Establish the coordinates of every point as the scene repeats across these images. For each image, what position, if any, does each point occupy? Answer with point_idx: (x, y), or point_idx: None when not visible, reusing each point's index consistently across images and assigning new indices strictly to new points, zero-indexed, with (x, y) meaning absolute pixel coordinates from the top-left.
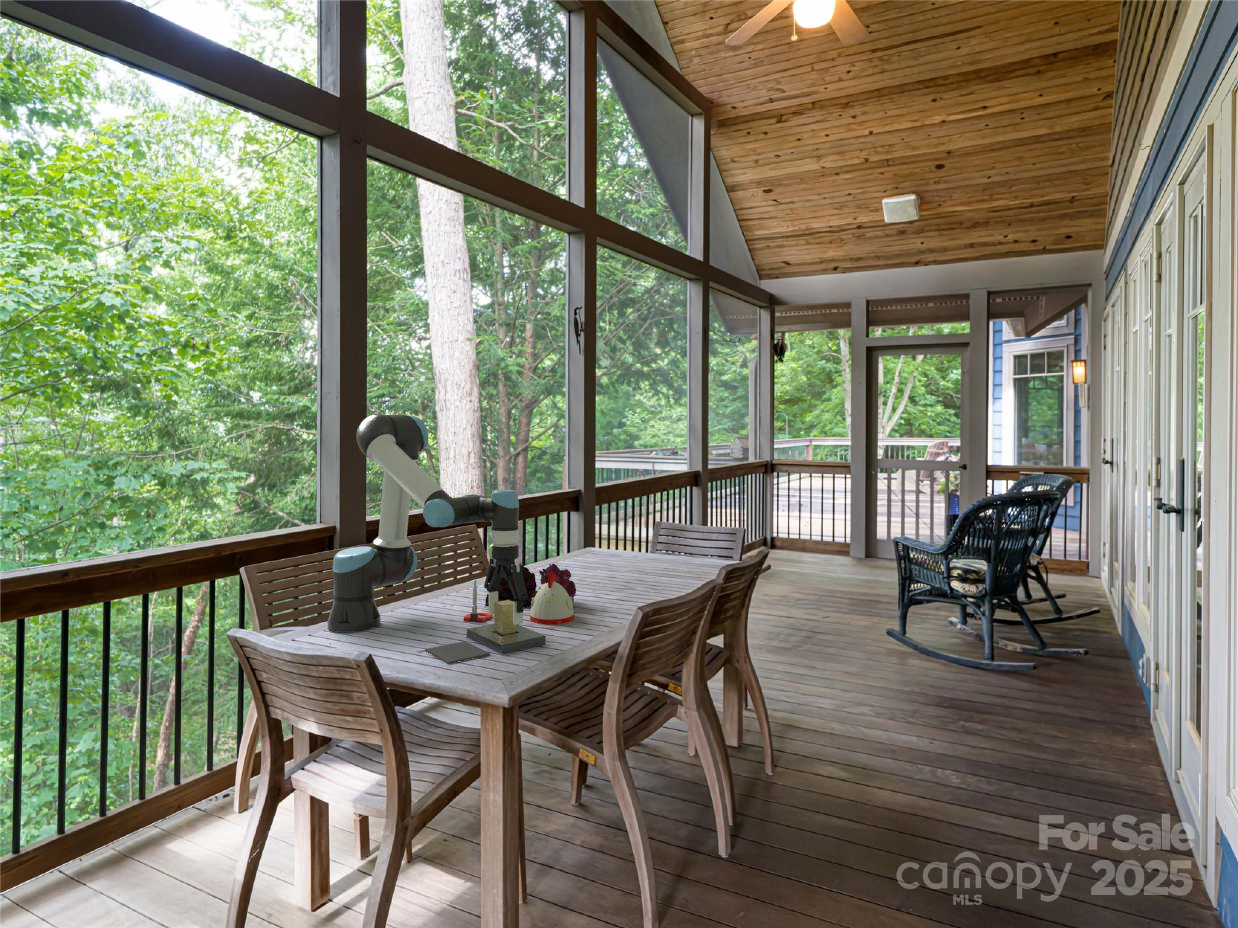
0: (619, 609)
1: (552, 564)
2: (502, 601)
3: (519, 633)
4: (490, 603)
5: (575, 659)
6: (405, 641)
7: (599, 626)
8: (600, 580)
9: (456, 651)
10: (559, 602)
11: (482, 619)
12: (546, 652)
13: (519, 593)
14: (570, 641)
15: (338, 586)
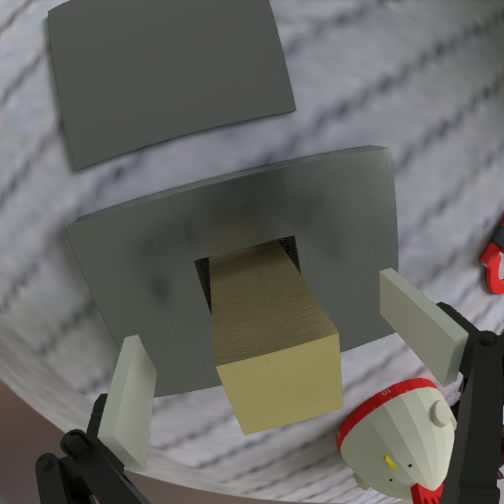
0: (352, 497)
1: (502, 476)
2: (326, 379)
3: (208, 336)
4: (413, 304)
5: (12, 382)
6: None
7: (265, 482)
8: None
9: (154, 41)
10: (366, 474)
11: (485, 258)
12: (68, 352)
13: (40, 490)
14: (162, 428)
15: None
